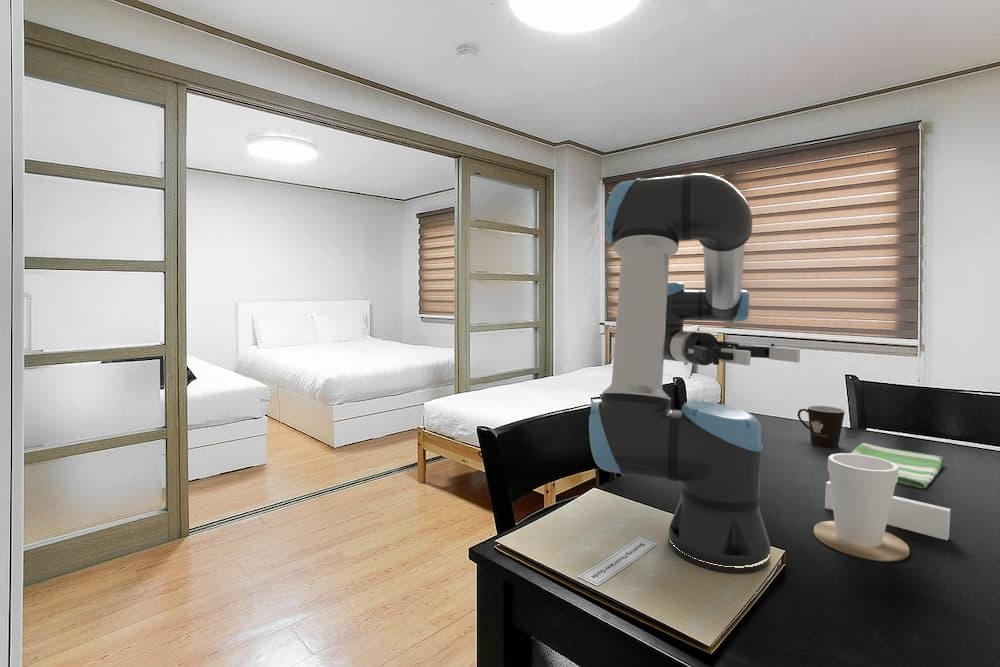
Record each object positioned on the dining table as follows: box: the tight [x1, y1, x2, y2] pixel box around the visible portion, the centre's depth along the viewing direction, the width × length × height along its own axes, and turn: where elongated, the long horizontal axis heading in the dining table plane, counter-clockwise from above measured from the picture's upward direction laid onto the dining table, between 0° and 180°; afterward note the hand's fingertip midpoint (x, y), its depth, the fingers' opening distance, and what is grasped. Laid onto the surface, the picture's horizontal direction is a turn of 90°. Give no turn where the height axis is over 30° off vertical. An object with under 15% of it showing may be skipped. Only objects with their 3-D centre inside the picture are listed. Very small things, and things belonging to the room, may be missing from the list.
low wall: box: [824, 480, 952, 541], centre depth 92 cm, size 2×18×5 cm, turn 43°
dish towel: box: [850, 442, 943, 489], centre depth 122 cm, size 18×23×3 cm
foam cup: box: [827, 452, 899, 547], centre depth 85 cm, size 10×9×13 cm
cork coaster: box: [813, 520, 910, 562], centre depth 85 cm, size 13×13×1 cm
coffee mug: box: [797, 405, 846, 449], centre depth 142 cm, size 12×9×10 cm
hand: (774, 357), depth 100 cm, fingers open, 13 cm apart
